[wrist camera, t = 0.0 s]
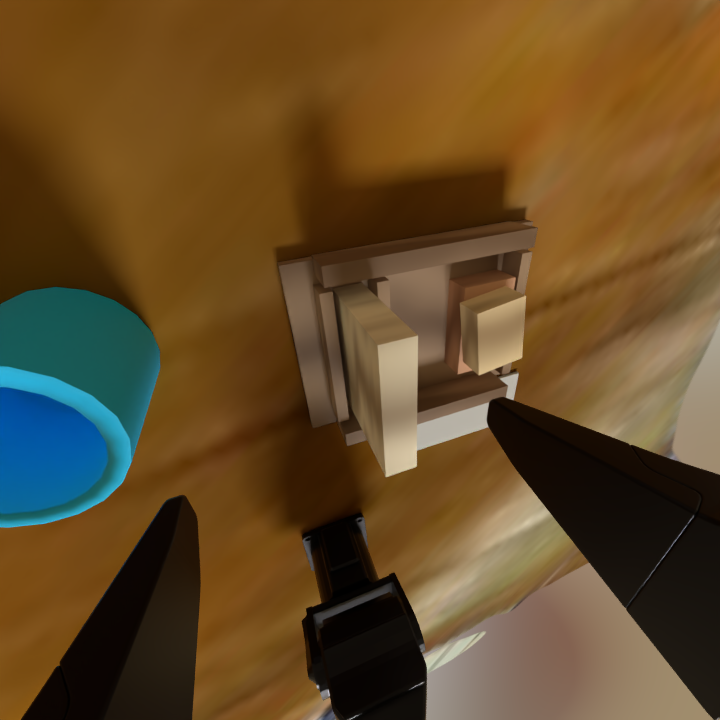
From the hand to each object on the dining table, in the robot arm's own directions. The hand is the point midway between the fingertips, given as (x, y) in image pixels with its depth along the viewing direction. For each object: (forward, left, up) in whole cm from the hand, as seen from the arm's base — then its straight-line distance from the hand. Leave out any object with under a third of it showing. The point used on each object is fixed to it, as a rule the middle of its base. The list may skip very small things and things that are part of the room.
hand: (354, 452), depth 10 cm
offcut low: (-5, -14, -14) cm, 20 cm away
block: (-5, -4, -14) cm, 15 cm away
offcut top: (-5, -13, -12) cm, 18 cm away
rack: (-5, -9, -15) cm, 18 cm away
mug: (-1, +14, -15) cm, 21 cm away
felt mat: (-15, -15, -15) cm, 26 cm away
